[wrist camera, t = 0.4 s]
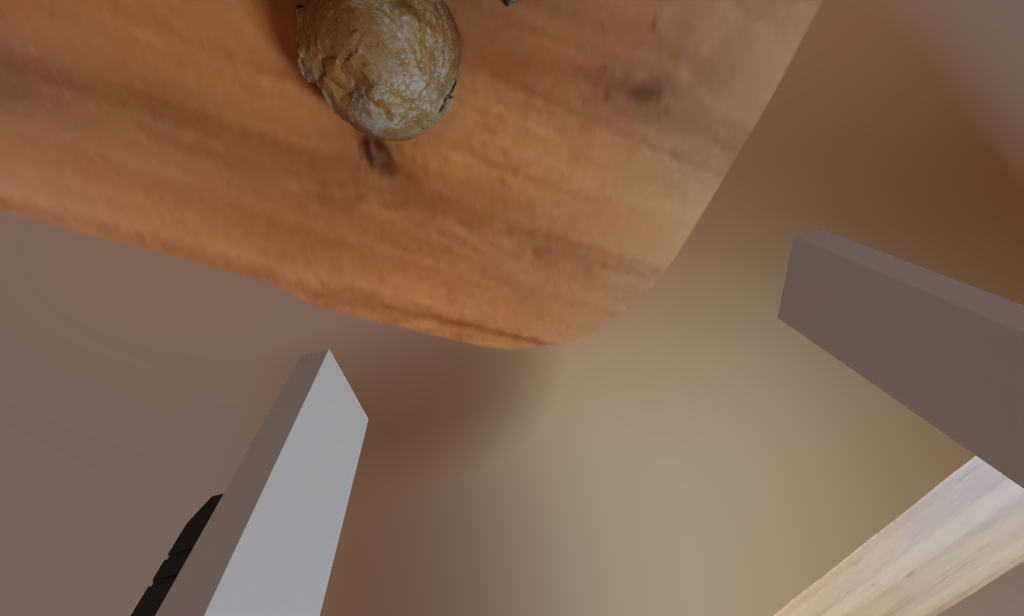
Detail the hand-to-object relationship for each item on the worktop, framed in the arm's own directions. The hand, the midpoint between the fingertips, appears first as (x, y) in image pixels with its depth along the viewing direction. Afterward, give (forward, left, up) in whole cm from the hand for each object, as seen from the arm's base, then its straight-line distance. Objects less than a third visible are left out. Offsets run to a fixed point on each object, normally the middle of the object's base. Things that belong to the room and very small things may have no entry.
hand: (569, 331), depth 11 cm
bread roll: (-10, -3, -25) cm, 27 cm away
